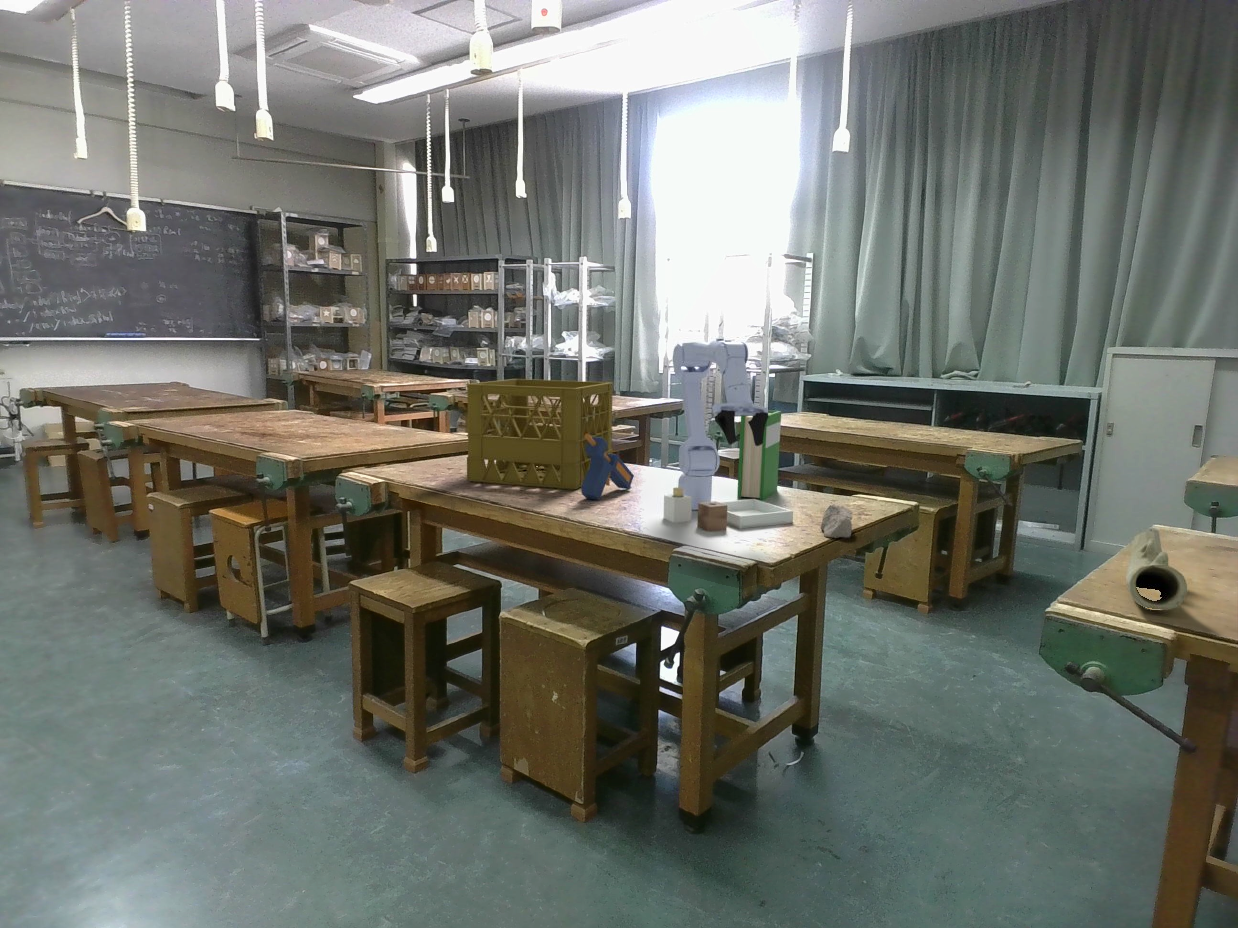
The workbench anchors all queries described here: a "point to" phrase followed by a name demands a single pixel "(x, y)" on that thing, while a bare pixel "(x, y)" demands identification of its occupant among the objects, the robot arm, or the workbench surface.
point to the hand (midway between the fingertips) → (745, 444)
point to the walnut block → (712, 516)
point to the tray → (756, 514)
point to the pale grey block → (677, 506)
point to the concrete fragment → (837, 522)
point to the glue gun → (603, 469)
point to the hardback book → (759, 459)
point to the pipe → (1154, 573)
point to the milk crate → (536, 431)
